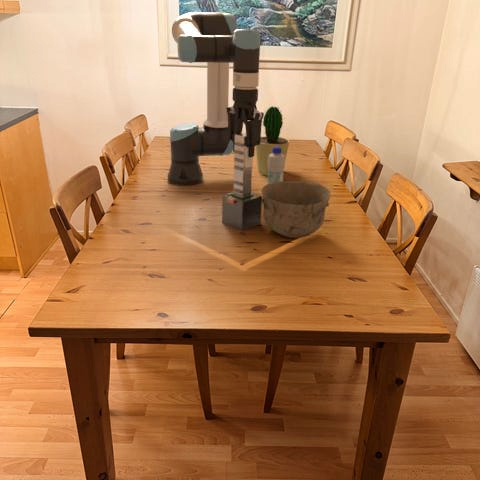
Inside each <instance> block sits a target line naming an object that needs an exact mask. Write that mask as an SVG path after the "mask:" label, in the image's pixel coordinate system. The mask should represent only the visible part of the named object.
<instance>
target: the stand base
mask: <svg viewBox="0 0 480 480" xmlns="http://www.w3.org/2000/svg"><path fill="white" fill-rule="evenodd" d="M233 194H234V191H230V192H228V193H225V194H222V196H221V197H222V198H221V199H222V200H221V206H222V207H221V210H222V211H221V221H222V222H221V223H222V224H224V225H226V226H229V227H231V228H233V229H235V230H238V231H240V232H243V231H247V230H249V229H251V228H254V227H255V226H259V225H261V224H262V211H263V210H262V207H263V202H262V201H261V199H263V195H262V194H261V195H260V194H258V193H255V192H252V191H251V195H252V197H250V198H247V199H244V200H241V199H238V198H235V197H233Z"/></svg>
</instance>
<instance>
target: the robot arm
mask: <svg viewBox="0 0 480 480" xmlns="http://www.w3.org/2000/svg"><path fill="white" fill-rule="evenodd" d="M238 28H239V27H238V22H237V19H236V17H235V15H234V14H232V13H227V12H205V11H204V12H200V11H199V12H198V11H193V12H192V11H190V12H187V13H184V14H182V15H179V17H178V18H176V19H175V20H174V22H173V24H172V27H171V36H172V38H173V40H174V41H175V43H176V44H177V57H178V60H179V61H180V62H182V63H189V64H193V63H206V64H207V65H206V67H207V70H206V80H207V82H206V88H207V89H206V93H207V94H206V100H207V101H206V120H204V121H203V123H202V124H203V126H202V127H199V124H198V123H194V122H193V123H191V122H189V123H182V124H178V125H175V126H173V127H171V129H170V130H169V131H170V132H169V133H170V134H169V142H170V143H169V144H170V165H169V169H168V173H167V182H168V183H169V182H170V183H169V184H172V185H174V186H175V185H176V186H182V187H183V186H187V187H188V186H194V185H198V184H201V183H203V181H204V174H203V172H202V171H203V170H202V168H201V165H200V158H199V157H210V156H213V157H214V156H216V157H217V156H222V157H223V156H229V155H230V154H231V155H232V153H234V150H235V145H234V142H235V134H239V133H243V128H244V125H245V133H246V136H247V145H246V147H245V167H246V168H248V167H251V166H252V167H253V163H254V162H253V161H254V160H253V159H254V156H255V151H256V145H260V140H261V137H262V127H263V126H262V125H263V124H262V123H263V120H264V119H263V118H264V116H265V112H260V111H259V110H258V107H257V102H258V101H259V100H258V99H259V89H258V87H259V83H260V82H259V76H260V75H259V74H260V71H259V70H260V53H261V52H260V51H261V45H262V42H261V32H260V31H259V30H258V29H244V28H243V29H238ZM230 64H232V65H233V66H232V67H233V68H232V87H233V88H232V96H231V97H232V101H233V105H232V106H229V95H230V94H229V91H230V90H229V89H230V87H229V86H230Z"/></svg>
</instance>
